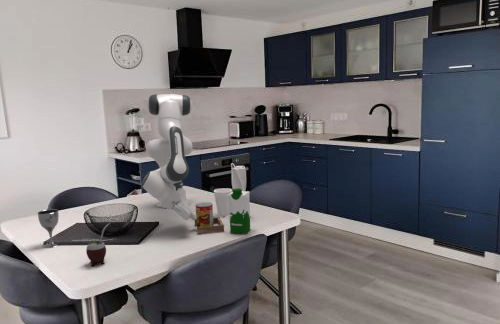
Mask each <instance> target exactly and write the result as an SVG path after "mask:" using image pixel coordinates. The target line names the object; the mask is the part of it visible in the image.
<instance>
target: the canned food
mask: <svg viewBox="0 0 500 324" xmlns="http://www.w3.org/2000/svg"><path fill="white" fill-rule="evenodd" d="M213 206H214V205H213V203H212V202H210V201H201V202H197V203H195V216H196V222H197V226H196V228H197V227H205V226H215V224H213V217H214V212H213V211H214V209H213Z"/></svg>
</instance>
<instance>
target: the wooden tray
mask: <svg viewBox="0 0 500 324" xmlns="http://www.w3.org/2000/svg"><path fill="white" fill-rule="evenodd" d="M213 225H214V226H205V227H197V222H196V219H195V220H194V226H195V227H196V234H197V236H198V235H206V234H216V233H224V232H225V225H224V222H223V221H222V219H221V216H215V217H214V216H213Z"/></svg>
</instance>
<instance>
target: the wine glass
mask: <svg viewBox="0 0 500 324" xmlns="http://www.w3.org/2000/svg"><path fill="white" fill-rule="evenodd" d="M37 218H38V222H39V224H40V226H41V227H42V228H43V229H44V230H46V231H47V233H48V236H49V242H48V243H49V244H48V243H45V244H46V245H45V244H44V245H42V247H43V248H45V249H51V248H56V247H58V246H57V245H56V244H54V242H53V232H54V229H55V228H56V227H57V225H58V223H59V210H58V209H56V208H50V209H43V210H40V211H38V212H37Z"/></svg>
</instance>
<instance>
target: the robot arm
mask: <svg viewBox="0 0 500 324" xmlns="http://www.w3.org/2000/svg"><path fill="white" fill-rule="evenodd" d="M146 106H147V109H148V113H150V114H151V115H153V116H158V118H157V130H158V133H159V136H160V137H161V138H155V139H151V140H149V141H148V142H147V143H146V147H145V151H146V154H147V156H149V157H150V158H151V159H153V161H155V162H156V164H158V167H159V168H157V169H154V170H151V171H148V172H147V173H146V174H145V176H144V177H143V179H142V182H141V185H142V188H143V189H144V190H145V191H146V192H147V193H148V194H149V195H150V196H152V198H154V199H156V200H157V201H159V202H158V203H157V204H156V208H163V209H167V210H173V211H174V212H175V213H176V214H177V215H178V216H180V218H182V219H183V220H184V221H188V219H191V221H194V220H195V219H196V214H194V213H193V212H192V211H191V210H190V207H189V205H190V204H191V203H190V201H189V200H188V199H187V193H186V192H187V191H186V189H184V188H183V187H184V183H183V180H185V179H186V178H187V177H188V176H189V172H190V168H189V164H188V161H187V159H186V156H188V155H191V153H192V151H193V148H194V147H193V143H192V141H191V139H190V138H188V137H187V136H185V135H184V133H183V131H182V117H185V116H188V115H189V114H191V110H192V107H193V102H192V100H191V98H190V96H189V95H187V94H176V93H170V94H169V93H164V94H163V93H162V94H157V93H156V94H151V95H150V96H149V97H148V100H147V104H146Z"/></svg>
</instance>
